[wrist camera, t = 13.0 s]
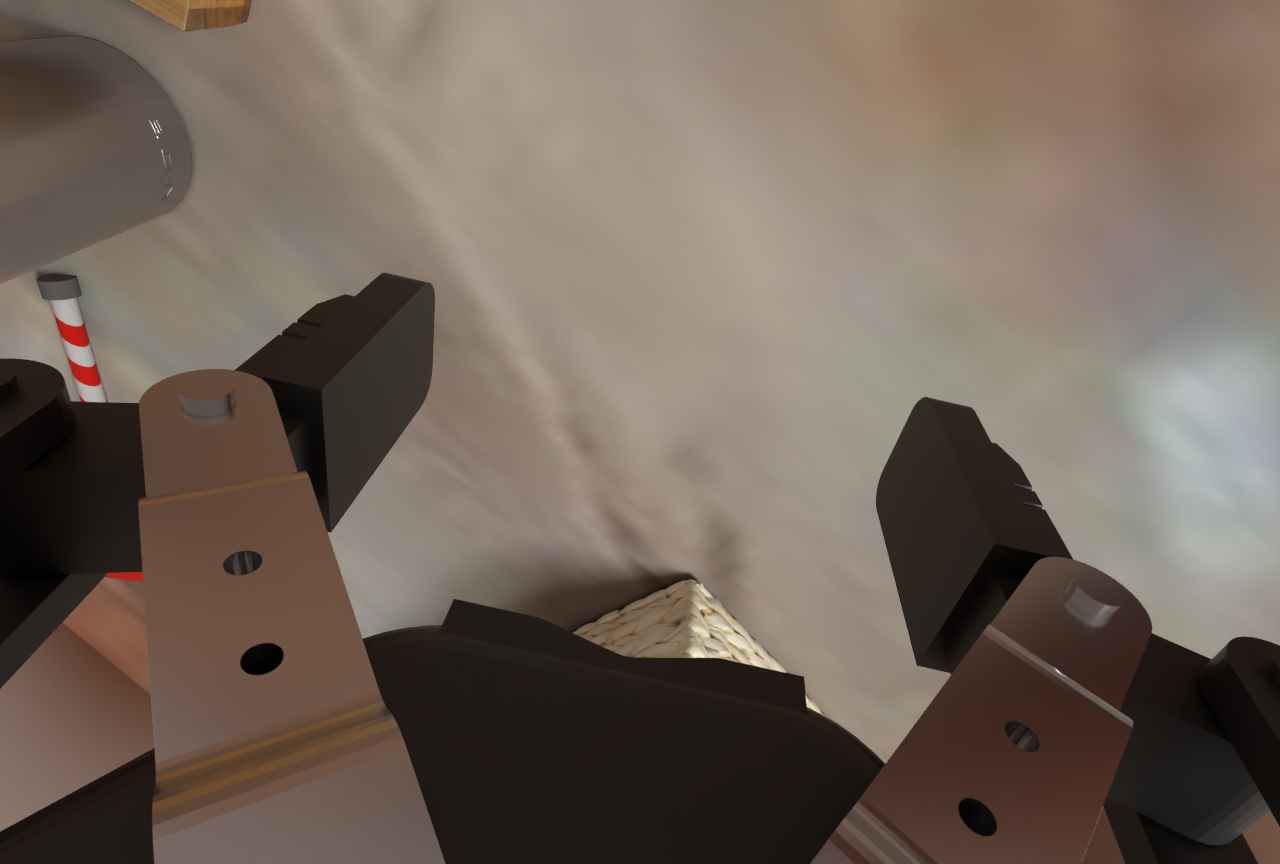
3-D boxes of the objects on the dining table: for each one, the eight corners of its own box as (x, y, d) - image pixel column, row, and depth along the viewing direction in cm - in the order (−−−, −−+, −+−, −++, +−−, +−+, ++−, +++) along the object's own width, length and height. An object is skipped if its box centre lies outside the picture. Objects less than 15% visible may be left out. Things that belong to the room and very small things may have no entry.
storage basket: (863, 739, 59) (895, 941, 47) (701, 789, 66) (692, 978, 54) (697, 553, 50) (683, 742, 38) (529, 632, 57) (471, 816, 45)
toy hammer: (-21, 261, 45) (-123, 300, 39) (157, 278, 44) (77, 321, 39) (108, 537, 57) (44, 595, 52) (249, 555, 56) (198, 615, 51)
